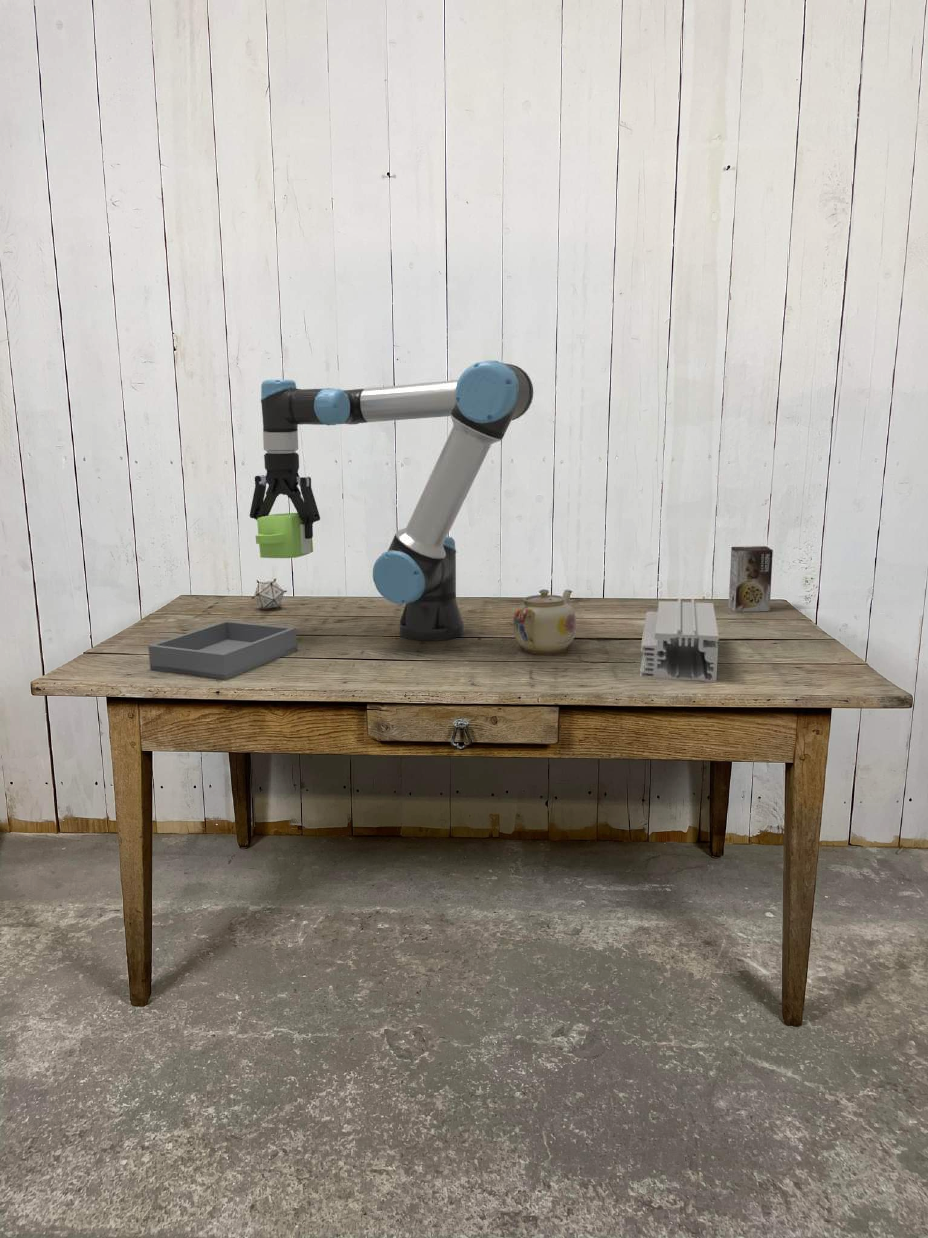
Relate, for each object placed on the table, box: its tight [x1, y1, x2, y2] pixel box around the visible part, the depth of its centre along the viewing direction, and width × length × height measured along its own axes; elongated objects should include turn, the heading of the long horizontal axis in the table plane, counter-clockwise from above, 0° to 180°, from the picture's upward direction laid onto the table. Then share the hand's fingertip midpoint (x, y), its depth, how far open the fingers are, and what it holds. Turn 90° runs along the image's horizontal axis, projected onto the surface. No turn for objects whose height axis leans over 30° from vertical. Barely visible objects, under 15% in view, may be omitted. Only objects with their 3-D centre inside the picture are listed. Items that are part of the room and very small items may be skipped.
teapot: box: [512, 589, 577, 656], centre depth 190 cm, size 20×14×13 cm
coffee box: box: [728, 545, 774, 613], centre depth 226 cm, size 9×6×16 cm
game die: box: [250, 577, 288, 612], centre depth 233 cm, size 9×8×10 cm
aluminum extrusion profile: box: [639, 597, 720, 682], centre depth 182 cm, size 14×31×10 cm, turn 167°
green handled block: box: [255, 512, 314, 559], centre depth 198 cm, size 18×10×10 cm, turn 168°
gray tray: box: [147, 620, 298, 681], centre depth 184 cm, size 19×24×5 cm
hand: (286, 551), depth 199 cm, fingers closed on green handled block, 10 cm apart
